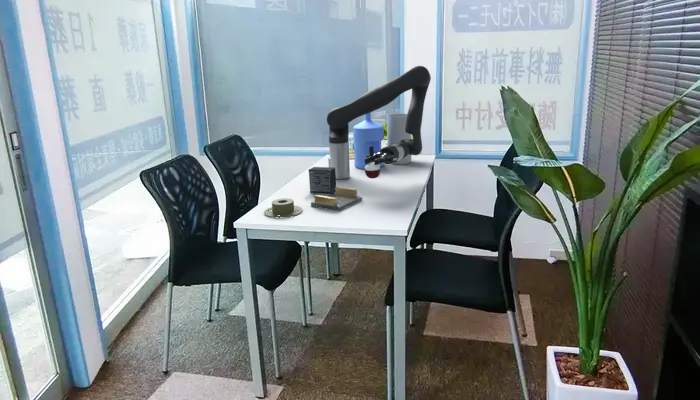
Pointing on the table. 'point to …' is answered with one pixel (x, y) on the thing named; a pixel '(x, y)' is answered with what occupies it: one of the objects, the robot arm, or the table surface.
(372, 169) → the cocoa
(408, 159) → the cylinder vase
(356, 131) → the water jug
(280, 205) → the flange
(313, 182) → the small box
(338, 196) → the plate
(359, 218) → the table surface
